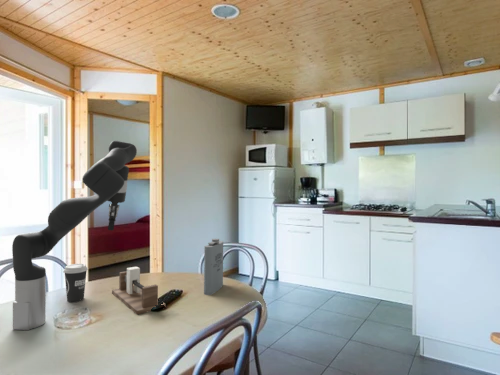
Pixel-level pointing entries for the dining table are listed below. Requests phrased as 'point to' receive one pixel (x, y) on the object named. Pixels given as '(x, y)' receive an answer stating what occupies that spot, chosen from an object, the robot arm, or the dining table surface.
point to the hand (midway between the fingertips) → (110, 229)
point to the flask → (213, 266)
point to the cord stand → (137, 295)
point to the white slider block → (133, 274)
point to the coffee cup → (75, 281)
